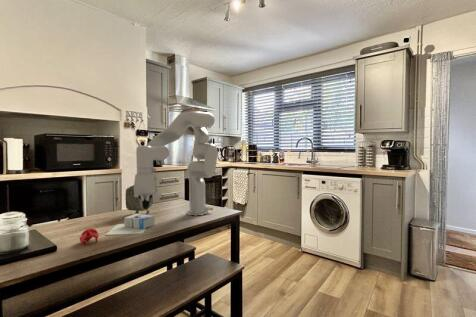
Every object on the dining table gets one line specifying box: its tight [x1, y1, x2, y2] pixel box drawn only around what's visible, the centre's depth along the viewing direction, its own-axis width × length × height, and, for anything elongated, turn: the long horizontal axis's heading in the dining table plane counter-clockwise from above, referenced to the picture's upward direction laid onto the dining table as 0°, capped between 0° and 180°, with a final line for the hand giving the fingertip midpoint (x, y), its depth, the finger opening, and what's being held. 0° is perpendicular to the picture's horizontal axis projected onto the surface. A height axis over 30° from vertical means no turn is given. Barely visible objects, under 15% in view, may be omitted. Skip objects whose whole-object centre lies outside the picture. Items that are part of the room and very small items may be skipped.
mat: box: [105, 223, 147, 237], centre depth 124 cm, size 16×16×1 cm
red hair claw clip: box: [79, 228, 99, 246], centre depth 107 cm, size 8×6×6 cm
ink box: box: [123, 213, 156, 229], centre depth 128 cm, size 8×5×12 cm
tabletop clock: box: [125, 184, 153, 214], centre depth 150 cm, size 14×9×25 cm, turn 170°
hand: (145, 208), depth 125 cm, fingers closed
